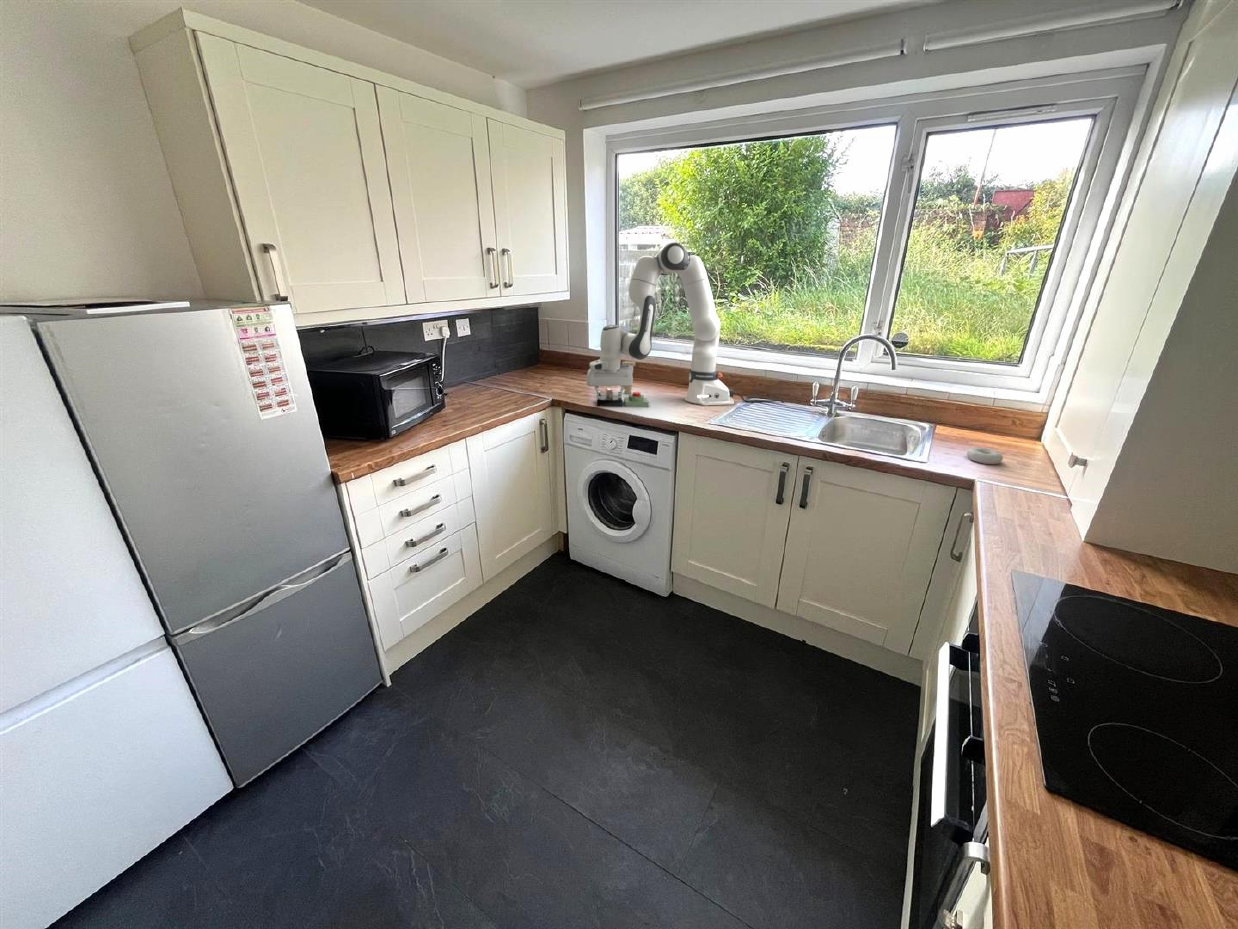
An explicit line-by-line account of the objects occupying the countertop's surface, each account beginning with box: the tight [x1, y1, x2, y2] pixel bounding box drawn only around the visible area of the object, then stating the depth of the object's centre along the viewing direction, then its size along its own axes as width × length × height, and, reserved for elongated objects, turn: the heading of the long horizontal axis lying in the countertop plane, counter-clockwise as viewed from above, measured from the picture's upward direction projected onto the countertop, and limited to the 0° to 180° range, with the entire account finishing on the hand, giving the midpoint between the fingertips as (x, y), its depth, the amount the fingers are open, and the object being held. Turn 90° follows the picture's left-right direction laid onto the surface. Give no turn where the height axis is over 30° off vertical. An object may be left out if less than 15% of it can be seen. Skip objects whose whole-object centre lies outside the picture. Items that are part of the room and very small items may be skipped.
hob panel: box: [596, 394, 623, 408], centre depth 220 cm, size 11×10×3 cm
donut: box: [966, 447, 1004, 465], centre depth 167 cm, size 10×4×10 cm
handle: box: [621, 360, 637, 395], centre depth 238 cm, size 5×6×15 cm
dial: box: [605, 387, 614, 399], centre depth 219 cm, size 6×2×4 cm, turn 13°
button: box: [631, 391, 642, 397], centre depth 220 cm, size 4×4×2 cm
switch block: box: [623, 393, 649, 408], centre depth 221 cm, size 10×8×4 cm
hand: (609, 395), depth 219 cm, fingers open, 8 cm apart
